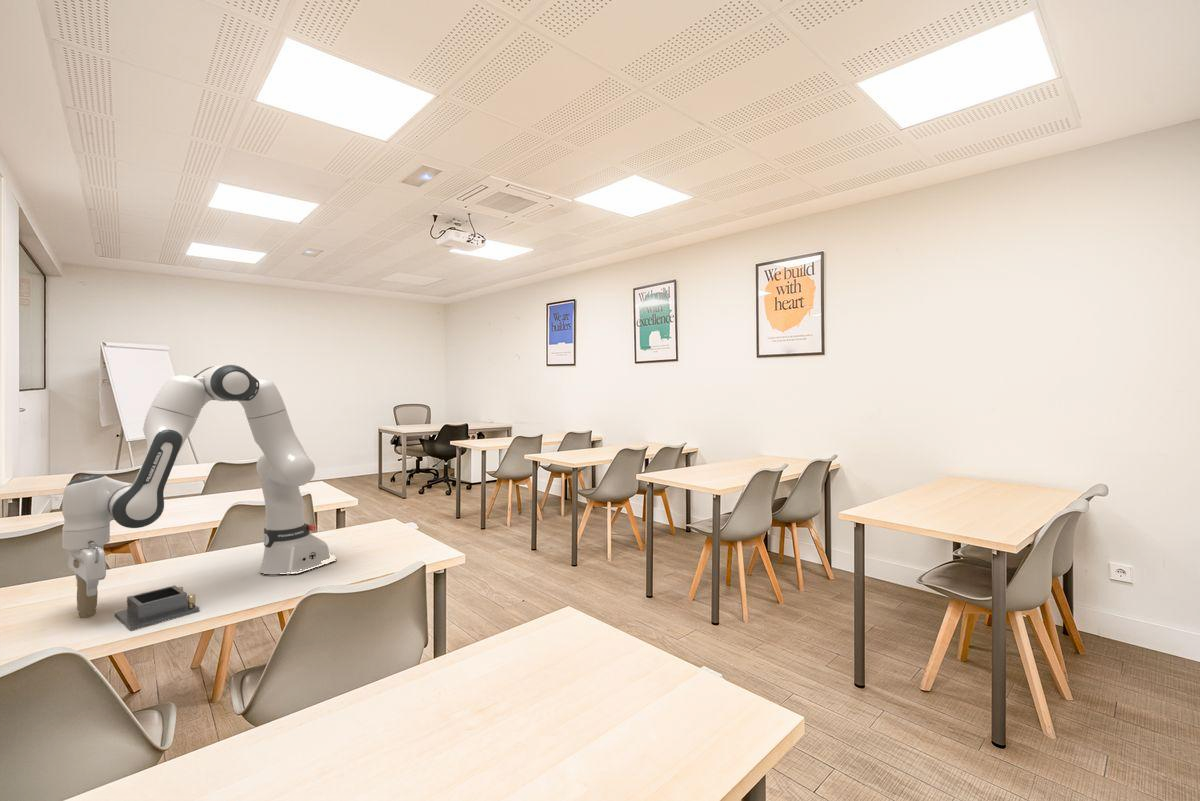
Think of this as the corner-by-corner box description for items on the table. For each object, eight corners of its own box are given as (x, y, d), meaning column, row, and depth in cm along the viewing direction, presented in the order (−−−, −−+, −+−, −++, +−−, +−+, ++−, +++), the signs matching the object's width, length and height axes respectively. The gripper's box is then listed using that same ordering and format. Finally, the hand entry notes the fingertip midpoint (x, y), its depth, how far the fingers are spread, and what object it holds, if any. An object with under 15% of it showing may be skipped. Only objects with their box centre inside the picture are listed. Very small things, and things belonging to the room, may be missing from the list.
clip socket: (180, 598, 146) (180, 581, 146) (199, 611, 138) (199, 592, 138) (114, 616, 135) (114, 597, 135) (130, 630, 127) (130, 610, 127)
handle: (77, 622, 131) (76, 563, 131) (71, 615, 135) (71, 558, 135) (103, 615, 135) (102, 558, 135) (97, 609, 139) (96, 554, 139)
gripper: (114, 542, 131) (114, 596, 131) (93, 529, 143) (93, 579, 143) (79, 548, 126) (79, 604, 126) (60, 534, 138) (60, 585, 138)
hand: (86, 591), depth 135 cm, fingers open, 8 cm apart
